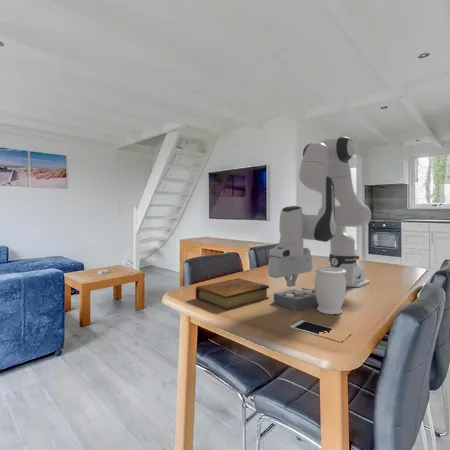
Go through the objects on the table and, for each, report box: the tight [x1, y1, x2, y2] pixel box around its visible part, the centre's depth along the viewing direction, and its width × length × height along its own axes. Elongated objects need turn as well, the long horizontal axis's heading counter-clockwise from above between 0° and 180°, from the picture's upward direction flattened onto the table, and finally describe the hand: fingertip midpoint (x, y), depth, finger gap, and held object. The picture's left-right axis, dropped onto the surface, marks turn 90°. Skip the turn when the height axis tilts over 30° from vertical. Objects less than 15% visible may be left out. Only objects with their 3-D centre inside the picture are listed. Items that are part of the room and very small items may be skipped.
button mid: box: [294, 288, 303, 296], centre depth 117 cm, size 3×3×3 cm
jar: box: [314, 266, 347, 316], centre depth 108 cm, size 11×10×15 cm
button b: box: [304, 289, 313, 294], centre depth 120 cm, size 3×3×3 cm
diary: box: [195, 278, 270, 311], centre depth 123 cm, size 23×19×6 cm
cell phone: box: [289, 319, 332, 335], centre depth 90 cm, size 8×16×1 cm, turn 48°
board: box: [273, 287, 319, 311], centre depth 117 cm, size 16×11×4 cm
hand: (291, 286), depth 115 cm, fingers closed
